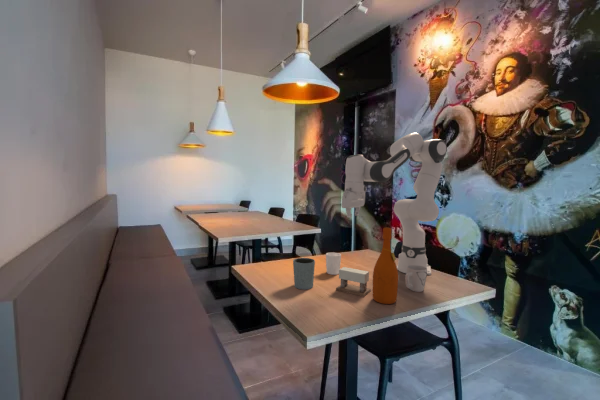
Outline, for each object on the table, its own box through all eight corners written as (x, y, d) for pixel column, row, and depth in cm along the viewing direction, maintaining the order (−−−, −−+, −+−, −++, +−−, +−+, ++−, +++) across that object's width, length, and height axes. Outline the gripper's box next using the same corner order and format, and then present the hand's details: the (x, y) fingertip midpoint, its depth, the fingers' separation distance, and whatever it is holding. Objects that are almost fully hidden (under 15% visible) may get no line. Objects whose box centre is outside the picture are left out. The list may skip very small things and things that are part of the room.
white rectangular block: (368, 280, 132) (369, 271, 132) (364, 283, 128) (364, 274, 128) (343, 275, 139) (343, 266, 138) (338, 278, 135) (339, 269, 134)
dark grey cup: (304, 291, 131) (304, 264, 130) (287, 286, 138) (288, 260, 137) (319, 286, 139) (319, 260, 138) (302, 280, 145) (303, 256, 145)
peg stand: (343, 285, 140) (343, 274, 140) (370, 291, 133) (371, 280, 133) (336, 290, 134) (336, 279, 133) (364, 296, 127) (364, 285, 126)
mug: (413, 295, 129) (414, 272, 129) (397, 289, 137) (398, 267, 136) (430, 290, 136) (431, 268, 135) (414, 284, 143) (415, 264, 142)
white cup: (339, 275, 154) (340, 256, 154) (324, 274, 156) (325, 255, 155) (341, 271, 162) (341, 252, 161) (326, 270, 164) (326, 251, 163)
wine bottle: (382, 306, 117) (385, 230, 115) (367, 297, 126) (369, 226, 124) (402, 303, 121) (405, 228, 119) (386, 294, 130) (388, 225, 128)
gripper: (351, 188, 136) (350, 219, 137) (367, 188, 153) (366, 215, 154) (338, 188, 139) (337, 217, 140) (355, 187, 156) (355, 214, 157)
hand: (353, 216), depth 147 cm, fingers open, 8 cm apart
